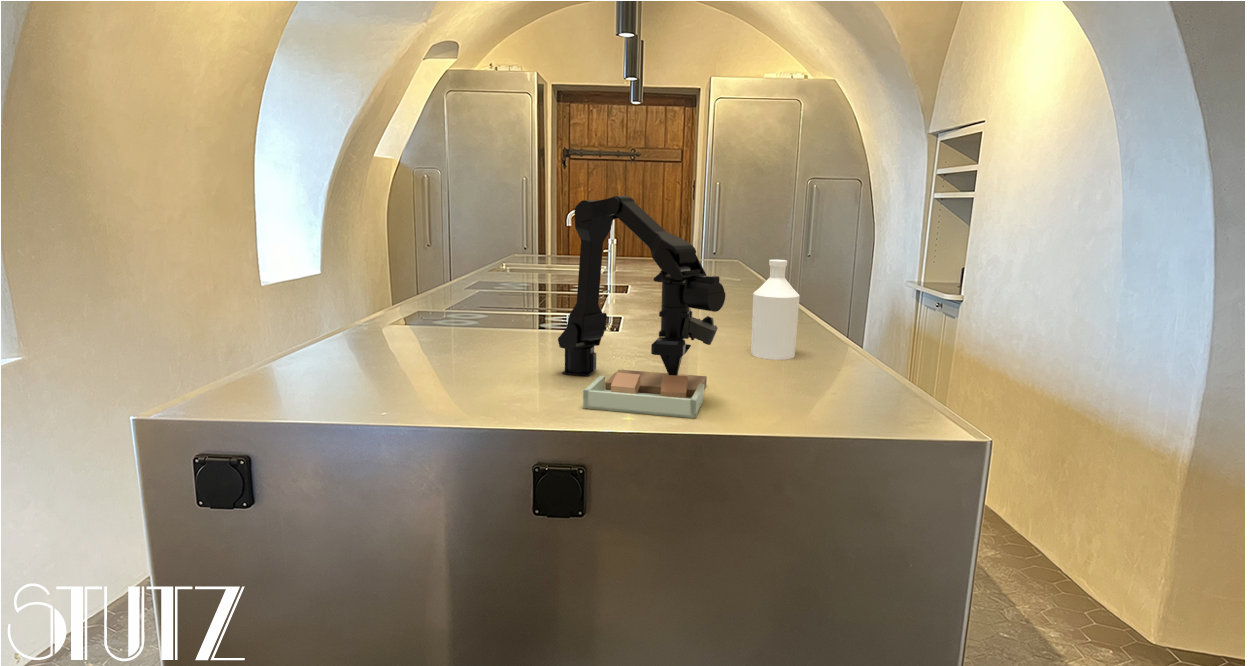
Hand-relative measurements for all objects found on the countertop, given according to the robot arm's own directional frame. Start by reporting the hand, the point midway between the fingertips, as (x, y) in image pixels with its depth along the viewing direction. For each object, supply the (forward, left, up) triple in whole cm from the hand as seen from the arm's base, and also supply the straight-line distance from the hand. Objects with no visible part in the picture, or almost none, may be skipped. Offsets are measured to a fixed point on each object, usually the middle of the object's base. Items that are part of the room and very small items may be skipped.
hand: (673, 380), depth 149 cm
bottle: (+18, +48, -4) cm, 52 cm away
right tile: (+1, -2, -2) cm, 3 cm away
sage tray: (-5, -6, -4) cm, 9 cm away
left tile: (-10, -2, -2) cm, 10 cm away
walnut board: (-5, +6, -4) cm, 9 cm away
